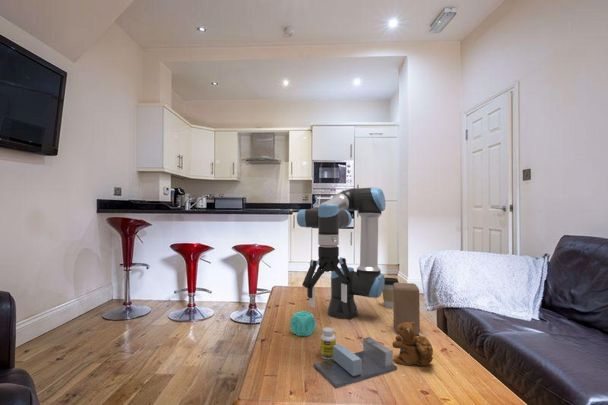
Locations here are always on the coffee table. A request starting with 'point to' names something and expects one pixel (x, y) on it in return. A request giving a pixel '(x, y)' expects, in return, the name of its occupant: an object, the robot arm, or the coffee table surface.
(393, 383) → the coffee table surface
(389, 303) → the coffee cup
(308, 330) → the decorative dice
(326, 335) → the supplement bottle
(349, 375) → the vise base
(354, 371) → the sliding jaw
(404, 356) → the stuffed squirrel
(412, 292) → the block
